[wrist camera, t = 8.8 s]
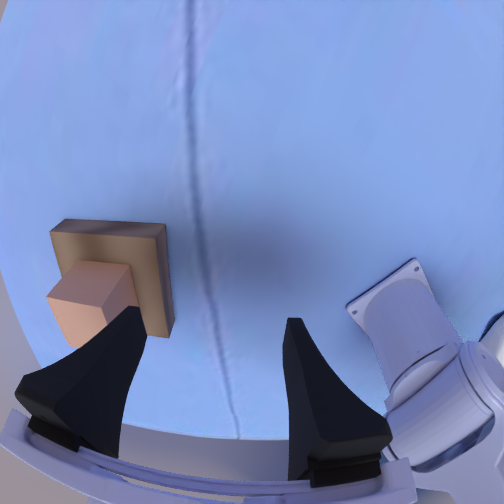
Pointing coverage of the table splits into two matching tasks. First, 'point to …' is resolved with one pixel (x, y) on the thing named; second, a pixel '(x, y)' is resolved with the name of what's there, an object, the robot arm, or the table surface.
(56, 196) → the table surface
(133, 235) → the base block
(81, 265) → the cube
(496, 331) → the white step stool
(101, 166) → the table surface
